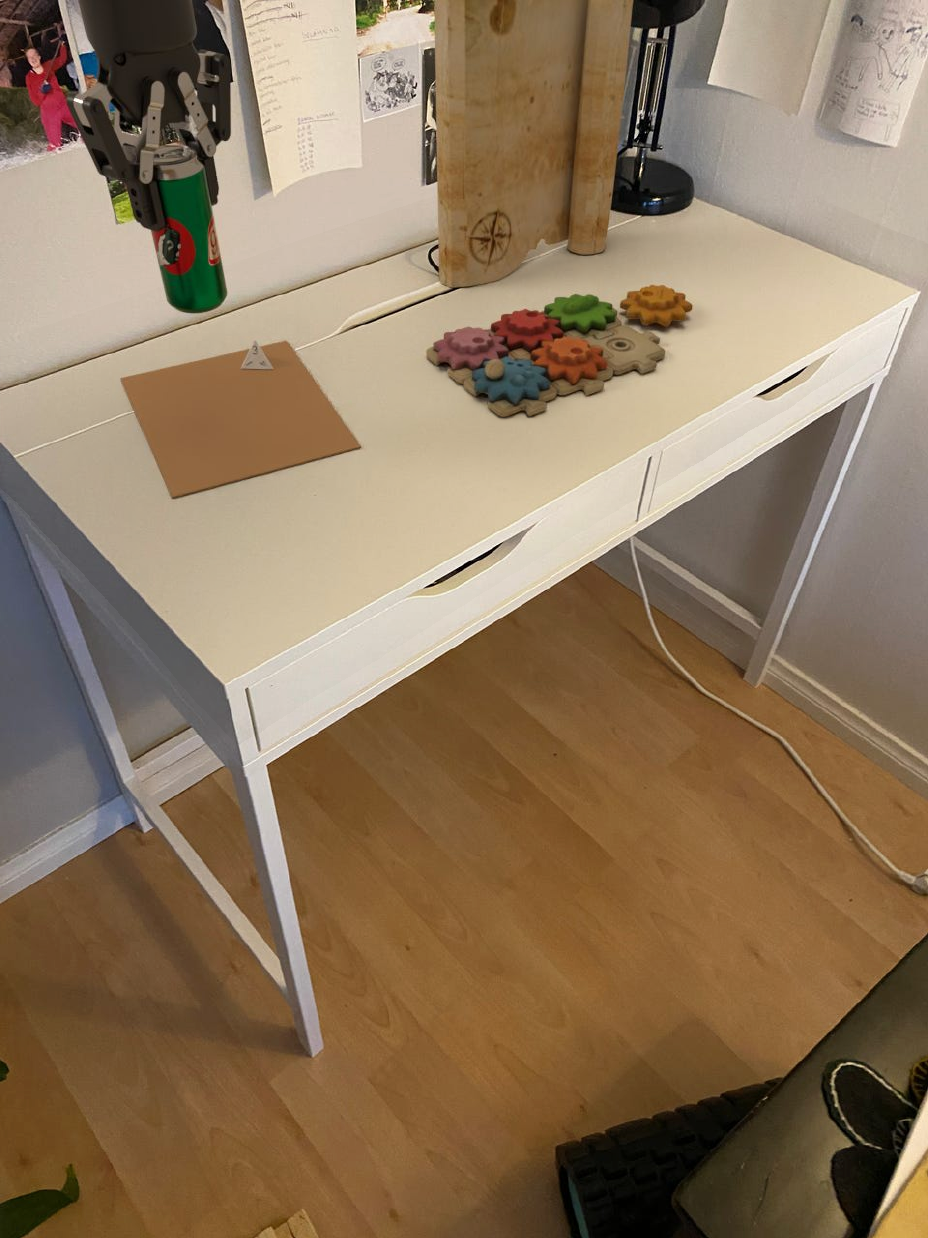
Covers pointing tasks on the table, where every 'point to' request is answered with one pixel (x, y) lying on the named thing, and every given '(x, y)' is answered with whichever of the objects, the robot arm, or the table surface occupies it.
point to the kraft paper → (234, 419)
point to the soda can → (187, 232)
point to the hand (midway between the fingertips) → (179, 214)
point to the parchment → (525, 128)
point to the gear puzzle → (557, 348)
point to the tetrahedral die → (256, 359)
